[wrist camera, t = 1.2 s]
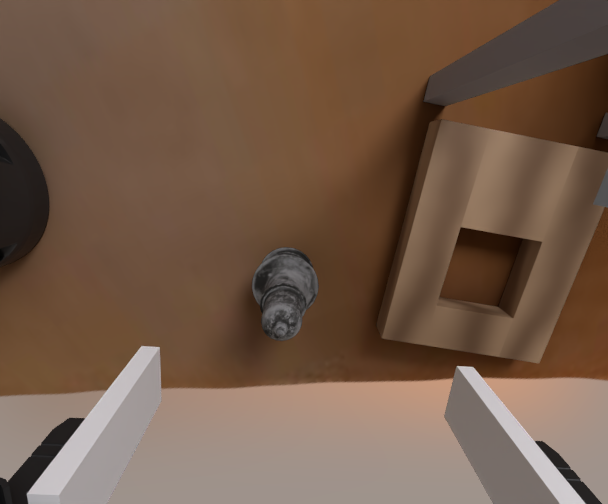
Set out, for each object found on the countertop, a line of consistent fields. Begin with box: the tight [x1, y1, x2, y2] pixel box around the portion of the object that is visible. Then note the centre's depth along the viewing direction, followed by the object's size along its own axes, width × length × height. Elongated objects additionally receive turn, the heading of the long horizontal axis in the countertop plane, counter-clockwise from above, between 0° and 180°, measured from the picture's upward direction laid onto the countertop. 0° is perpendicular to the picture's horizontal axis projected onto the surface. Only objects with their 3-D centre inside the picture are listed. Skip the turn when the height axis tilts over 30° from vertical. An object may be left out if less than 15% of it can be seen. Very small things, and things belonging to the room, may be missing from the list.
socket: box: [376, 119, 608, 363], centre depth 32 cm, size 16×20×3 cm
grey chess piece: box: [252, 247, 319, 341], centre depth 28 cm, size 6×6×12 cm
